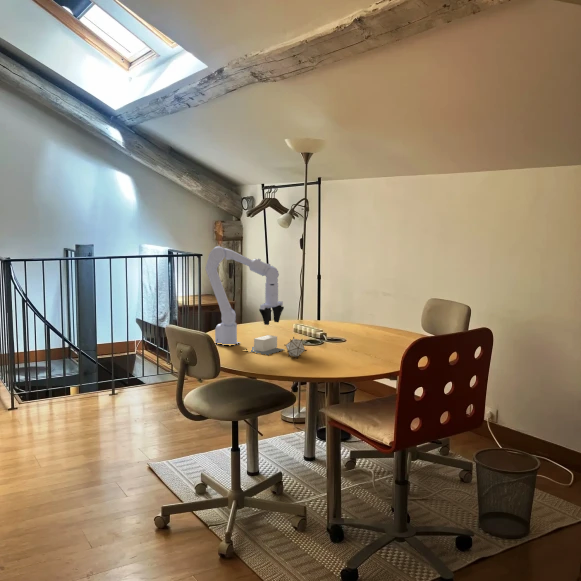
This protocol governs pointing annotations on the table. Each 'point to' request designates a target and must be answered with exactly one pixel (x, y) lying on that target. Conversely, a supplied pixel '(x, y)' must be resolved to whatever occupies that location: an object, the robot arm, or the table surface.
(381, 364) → the table surface
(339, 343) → the table surface
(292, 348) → the game die
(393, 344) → the table surface
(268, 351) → the slate mat
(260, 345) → the tall block
